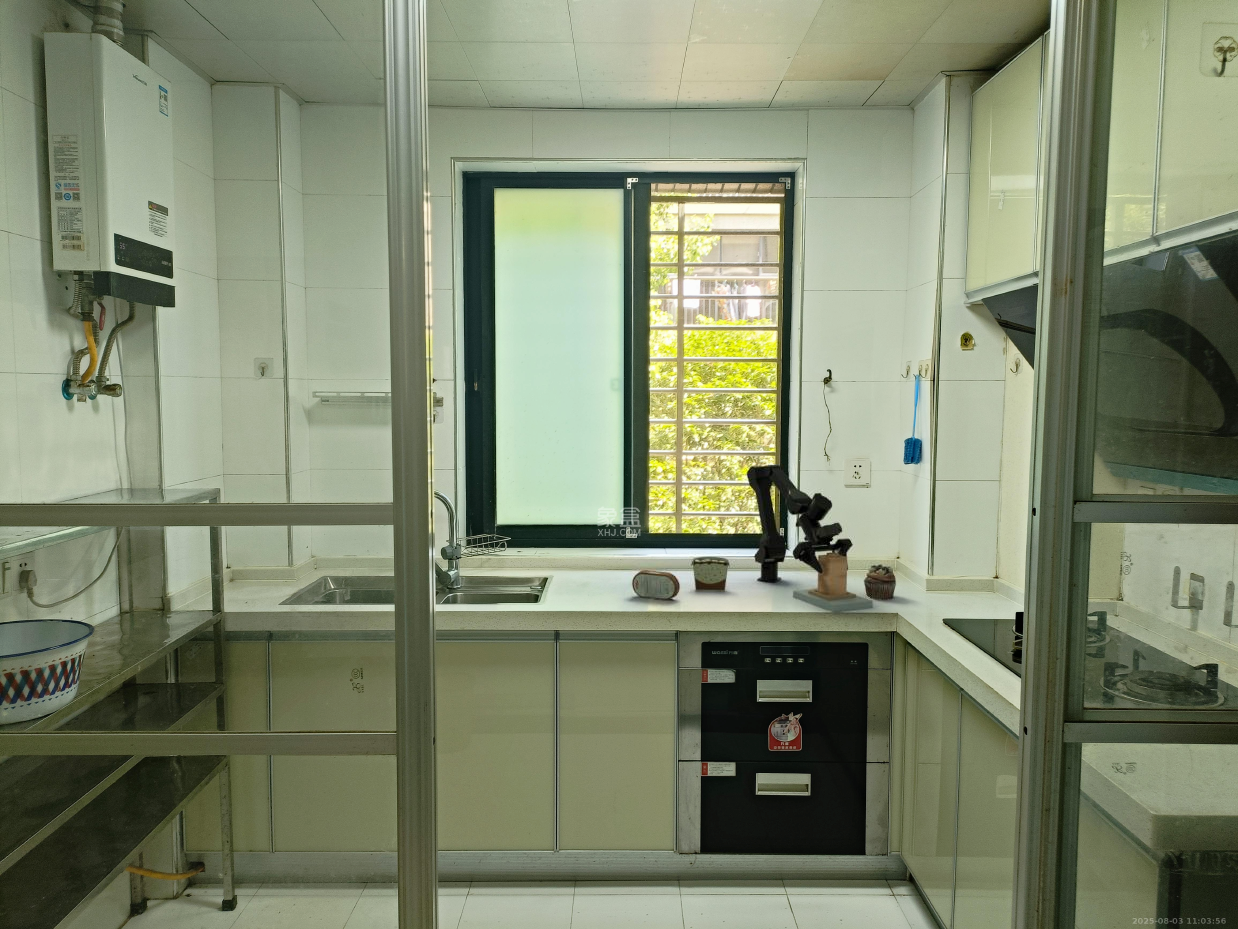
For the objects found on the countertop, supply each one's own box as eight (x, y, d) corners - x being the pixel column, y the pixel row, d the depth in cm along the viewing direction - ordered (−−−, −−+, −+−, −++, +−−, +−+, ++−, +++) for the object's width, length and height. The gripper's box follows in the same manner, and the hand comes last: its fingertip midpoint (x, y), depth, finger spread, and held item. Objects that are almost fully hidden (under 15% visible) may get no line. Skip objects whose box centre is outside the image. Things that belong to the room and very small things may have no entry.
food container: (729, 587, 271) (729, 556, 270) (729, 591, 265) (730, 560, 264) (691, 586, 272) (691, 556, 271) (690, 590, 266) (691, 559, 265)
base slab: (793, 597, 256) (793, 587, 256) (830, 593, 262) (830, 583, 262) (833, 612, 238) (833, 601, 238) (872, 607, 243) (872, 597, 243)
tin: (680, 600, 253) (680, 572, 252) (676, 602, 250) (676, 574, 249) (634, 595, 259) (634, 568, 259) (630, 597, 256) (630, 570, 256)
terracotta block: (817, 594, 251) (818, 552, 250) (833, 592, 254) (834, 551, 253) (829, 598, 246) (830, 555, 245) (846, 596, 248) (847, 554, 247)
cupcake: (901, 596, 257) (902, 564, 256) (887, 602, 250) (888, 569, 249) (872, 592, 264) (872, 560, 263) (857, 597, 257) (858, 565, 256)
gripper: (798, 515, 248) (820, 558, 239) (849, 512, 256) (872, 553, 246) (783, 537, 256) (803, 579, 247) (833, 534, 263) (854, 575, 254)
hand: (834, 571), depth 248 cm, fingers open, 9 cm apart
